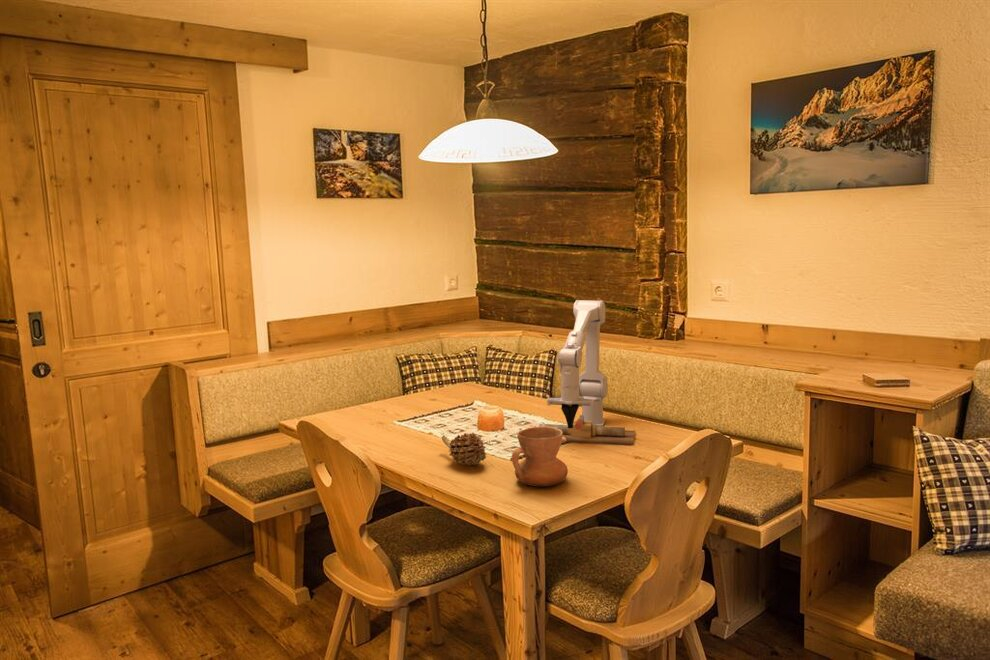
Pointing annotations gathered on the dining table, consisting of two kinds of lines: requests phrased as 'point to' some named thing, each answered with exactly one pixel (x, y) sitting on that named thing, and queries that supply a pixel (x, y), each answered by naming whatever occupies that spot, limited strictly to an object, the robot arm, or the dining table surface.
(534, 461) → the ceramic jug
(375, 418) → the dining table surface
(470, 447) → the pine cone
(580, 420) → the valve lever
